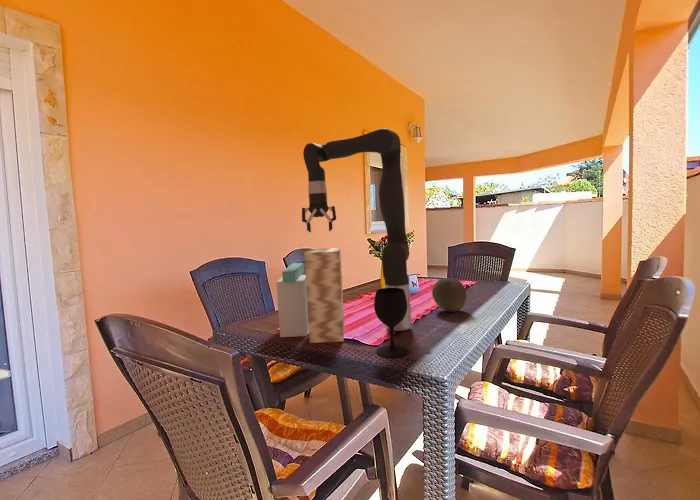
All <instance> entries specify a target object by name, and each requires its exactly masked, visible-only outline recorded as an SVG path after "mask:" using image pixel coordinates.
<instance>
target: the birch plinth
mask: <svg viewBox="0 0 700 500" xmlns="http://www.w3.org/2000/svg"><path fill="white" fill-rule="evenodd" d="M341 255H342V254H341V247H331V248H312V249H307V250H306V251H305V252H304V253H303V256H304V272H305V274H304V275H306V291H307V308H308V324H309V332H308V338H309V341H308V342H309V344H315V343H317V344H318V343H338V342H341V343H342V342H344V340H345V315H344V295H343V294H344V292H343V276H342V274H343V273H342V261H341V260H342V258H341Z"/></svg>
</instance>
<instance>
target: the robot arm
mask: <svg viewBox="0 0 700 500" xmlns="http://www.w3.org/2000/svg"><path fill="white" fill-rule="evenodd" d="M302 153H303V155H302V156H303V162H304V164H305V167H306V170H307V176H308V177H307V178H308V185H307V187H308V189H307V193H308V203H309V206H308V207H302V208H301V221H302V223H305V224H306V231H307V232H308V233H311V232H312V227H311V226H312V225H311V221H312V219H313V218H323V217H325V218H326V219H327V221H328V231H329V232H331V231H332V230H333V222H334V221H336V220H337V214H336V207H335V205H332V206H328V192H327V183H326V171H325V168H323V167H322V166H321V164H320V163H323V162H324V163H325V162H328V161H331V160H334V159H342V158H344V159H345V158H348V157H351V156H354V155H357V154H360V153H377V154H380V157H381V159H380V160H381V164H382V165H381V167H382V168H381V169H382V170H381V171H382V172H381V178H380V183H379V188H378V201H379V209H380V213H381V216H382V219H383V222H384V226H385V229H386V237H387V242H386V245H385V246H384V247H383V249H382V252H381V267H382V276H383V277H382V278H383V279H384V288H401V289H403V290H404V292H405V295H406V299H407V312H406V315H405V317H404V319H403V320H402V321H401V322H400V323H399V324H398V325H396V326H395V327H394V330H395V331H394V332H400V331H401V332H403V331H407V330H412V328H413V327H412V305H411V303H410V278H409V275H408V270H407V269H408V267H407V266H408V265H407V264H408V263H407V261H408V260H409V257H410V247H409V242H408V238H407V232H406V215H405V214H406V213H405V195H404V188H403V177H402V169H401V139H400V137H399V135H398V133H396V132H395V131H393V130H391V129H389V128H385V127H383V128H377V129H376V130H373V131H370V132H367V133H365V134H362V135H358V136H354V137H348V138H341V139H336V140H331V141H328V142H326V143H325V144H317V143H314V142H308V143H306V145H305V146H304V148H303V152H302ZM328 211H330V212H331V213H332V218H331V217H330V216H329V214H328V213H327V212H328ZM308 212H309V213H310V214H309V216H308V218H307V217H306V216H307V215H306V214H307V213H308ZM306 218H307V219H306ZM387 328H388V329H387ZM386 329H387V330H389V327H388V326H386Z"/></svg>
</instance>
